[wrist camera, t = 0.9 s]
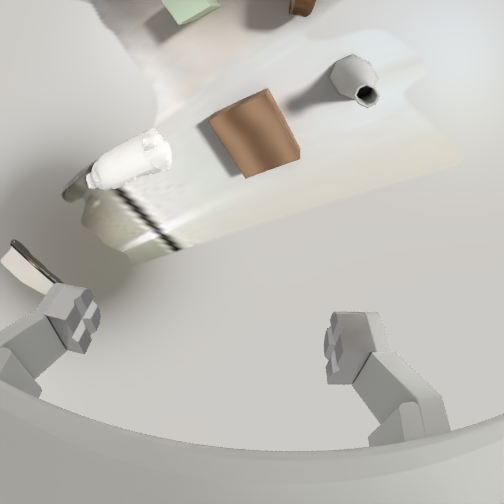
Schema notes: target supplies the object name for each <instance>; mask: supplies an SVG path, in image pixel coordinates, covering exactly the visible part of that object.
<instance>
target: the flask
mask: <svg viewBox="0 0 504 504" xmlns="http://www.w3.org/2000/svg"><path fill="white" fill-rule="evenodd" d="M329 78H330V80H331V81H332V83H333V84H334V86H335V88H336V89H337V91H338V93H340V94H343V95H345V96H347V97H349V98H352V99H354V100H356V101H357V102H358V104H360V105H362V106H364V107H366V108H368V107H370V106H373V105H375V104H376V103H377V101H378V99H379V97H380V95H379V93H378V91H377V89H376V87H374V86H375V84H376V82H377V80H378V77H377V75H376V73H375V71H374V69H373V67H372V66H371V64H370V62H368V61H366V60H363V59H361V58H359V57H357V56H355V55H353V54H352V55H350V56H348V57H346V58H344V59H341V60H339V61H337V62H336V64H335V66H334V68H333V70H332V72H331V74H330V77H329Z"/></svg>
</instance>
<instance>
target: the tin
mask: <svg viewBox="0 0 504 504" xmlns="http://www.w3.org/2000/svg"><path fill="white" fill-rule="evenodd" d="M315 1H316V0H290V6H289V14H294V15H298V16H303V17H306V16H308V15H310V13H311V12H312V10H313V7H314V4H315Z"/></svg>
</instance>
